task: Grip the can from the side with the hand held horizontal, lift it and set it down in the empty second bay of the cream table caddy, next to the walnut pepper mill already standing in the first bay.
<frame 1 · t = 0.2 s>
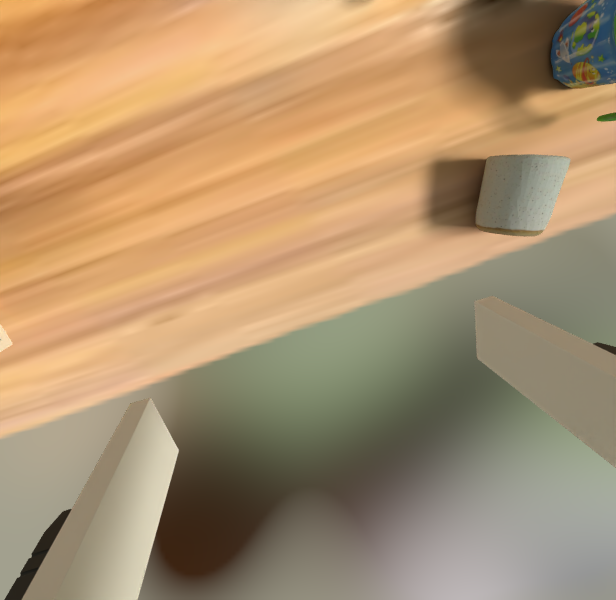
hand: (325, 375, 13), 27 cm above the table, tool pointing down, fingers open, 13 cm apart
snack cup: (576, 52, 35), on the table
ceramic mug: (503, 193, 39), on the table
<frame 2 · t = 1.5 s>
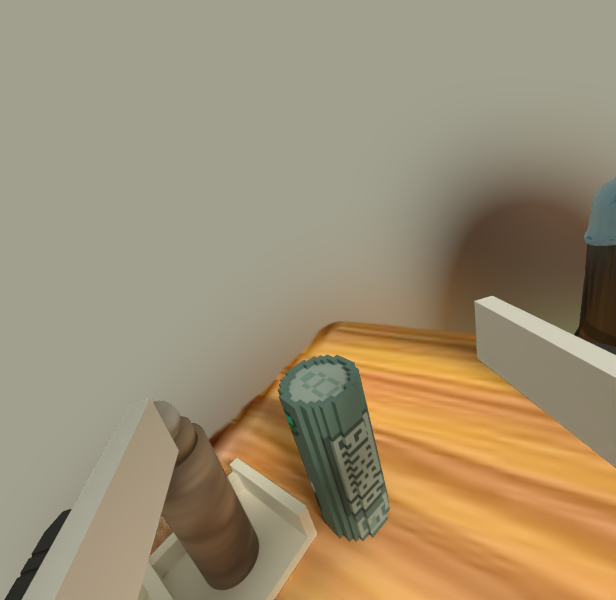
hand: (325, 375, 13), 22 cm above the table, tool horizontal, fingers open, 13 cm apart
can: (355, 506, 30), on the table
pepper mill: (231, 555, 28), point 1 cm above the table, touching caddy
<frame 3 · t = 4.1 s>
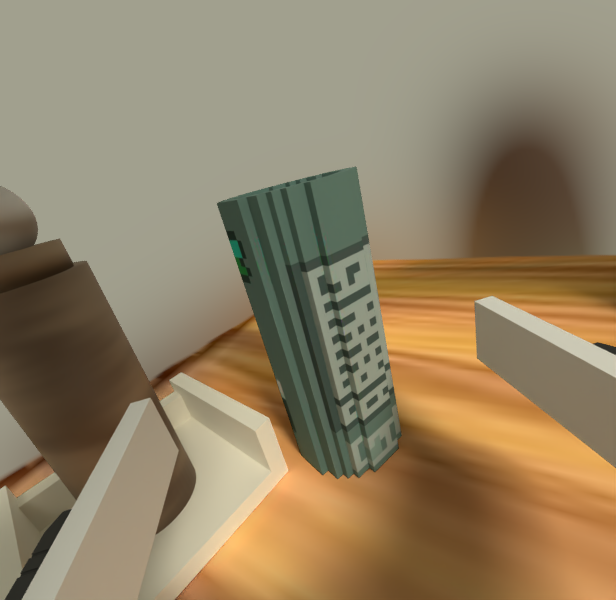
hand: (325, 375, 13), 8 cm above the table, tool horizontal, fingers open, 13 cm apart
can: (349, 434, 20), on the table
pepper mill: (151, 497, 18), point 1 cm above the table, touching caddy
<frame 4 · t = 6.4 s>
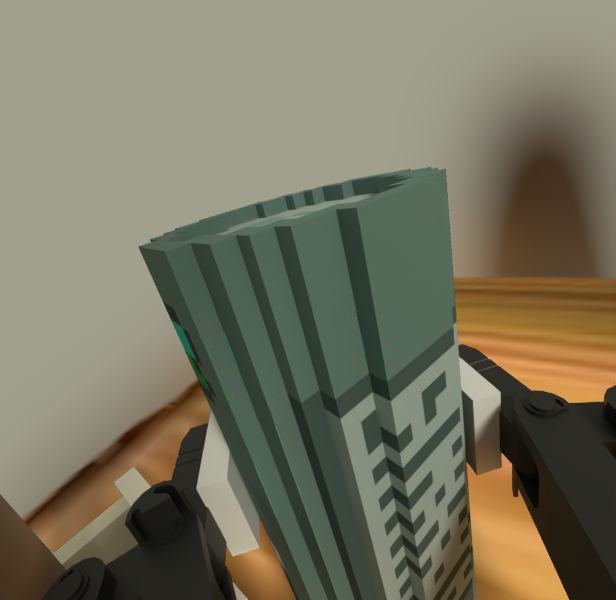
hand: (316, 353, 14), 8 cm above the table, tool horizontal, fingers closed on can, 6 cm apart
can: (386, 589, 13), on the table, touching gripper
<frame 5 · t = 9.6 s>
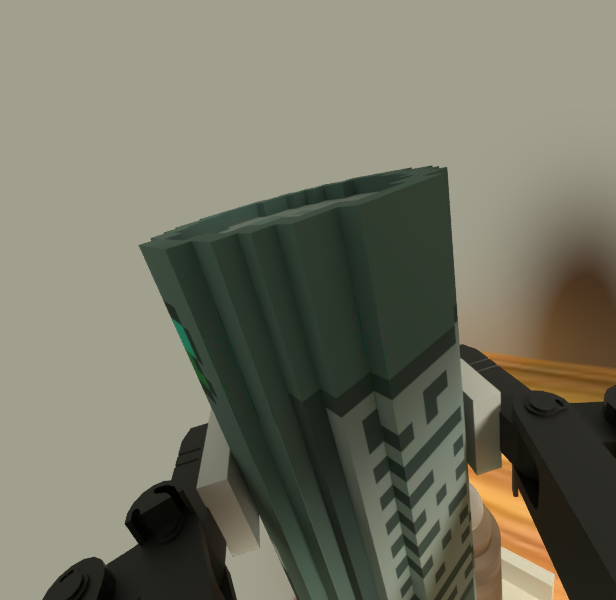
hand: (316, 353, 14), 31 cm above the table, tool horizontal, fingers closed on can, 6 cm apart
can: (387, 589, 13), point 23 cm above the table, touching gripper
when the fingers open (10 cm above the table, at t = 13.0 s): can drops 1 cm, resting on caddy.
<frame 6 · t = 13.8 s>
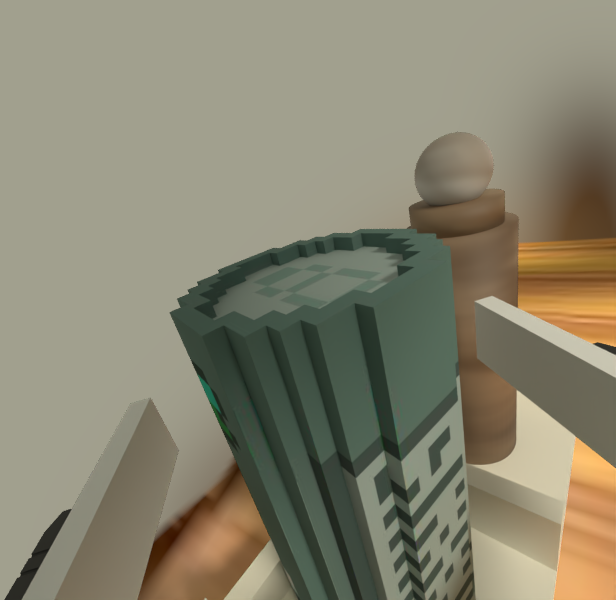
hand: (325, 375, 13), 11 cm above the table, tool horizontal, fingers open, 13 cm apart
pepper mill: (468, 430, 20), point 1 cm above the table, touching caddy
caddy: (438, 512, 17), on the table
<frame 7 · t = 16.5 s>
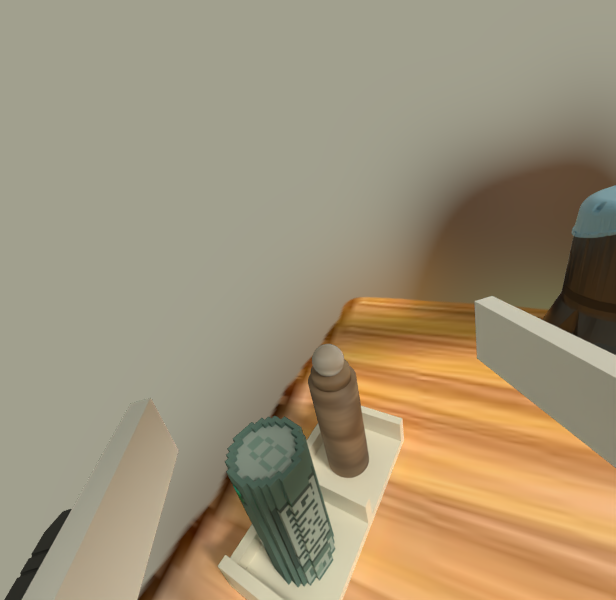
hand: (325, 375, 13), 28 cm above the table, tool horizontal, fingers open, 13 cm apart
can: (303, 547, 32), point 1 cm above the table, touching caddy
pepper mill: (348, 458, 39), point 1 cm above the table, touching caddy
caddy: (329, 503, 36), on the table
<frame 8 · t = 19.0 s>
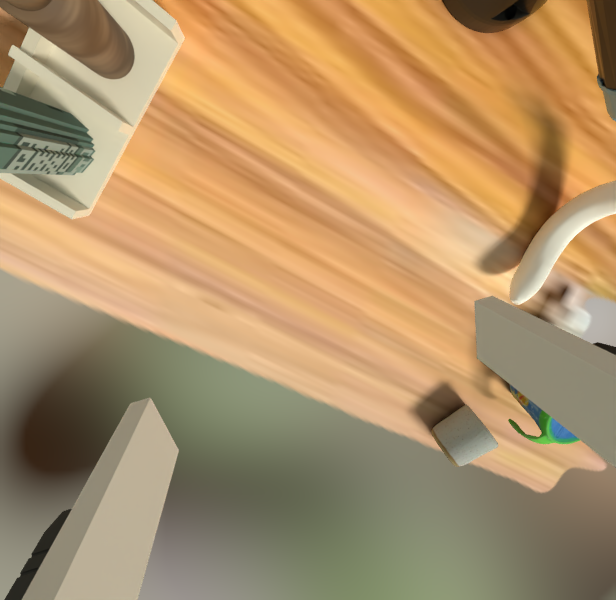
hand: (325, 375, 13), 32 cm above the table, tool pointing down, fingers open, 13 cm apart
snack cup: (525, 378, 58), on the table
can: (63, 143, 34), point 1 cm above the table, touching caddy
pepper mill: (107, 50, 32), point 1 cm above the table, touching caddy
white curved horn: (532, 240, 48), on the table
caddy: (88, 100, 34), on the table
ceramic mug: (453, 424, 59), on the table
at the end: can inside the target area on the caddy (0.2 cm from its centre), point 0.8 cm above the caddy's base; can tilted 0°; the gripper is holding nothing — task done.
